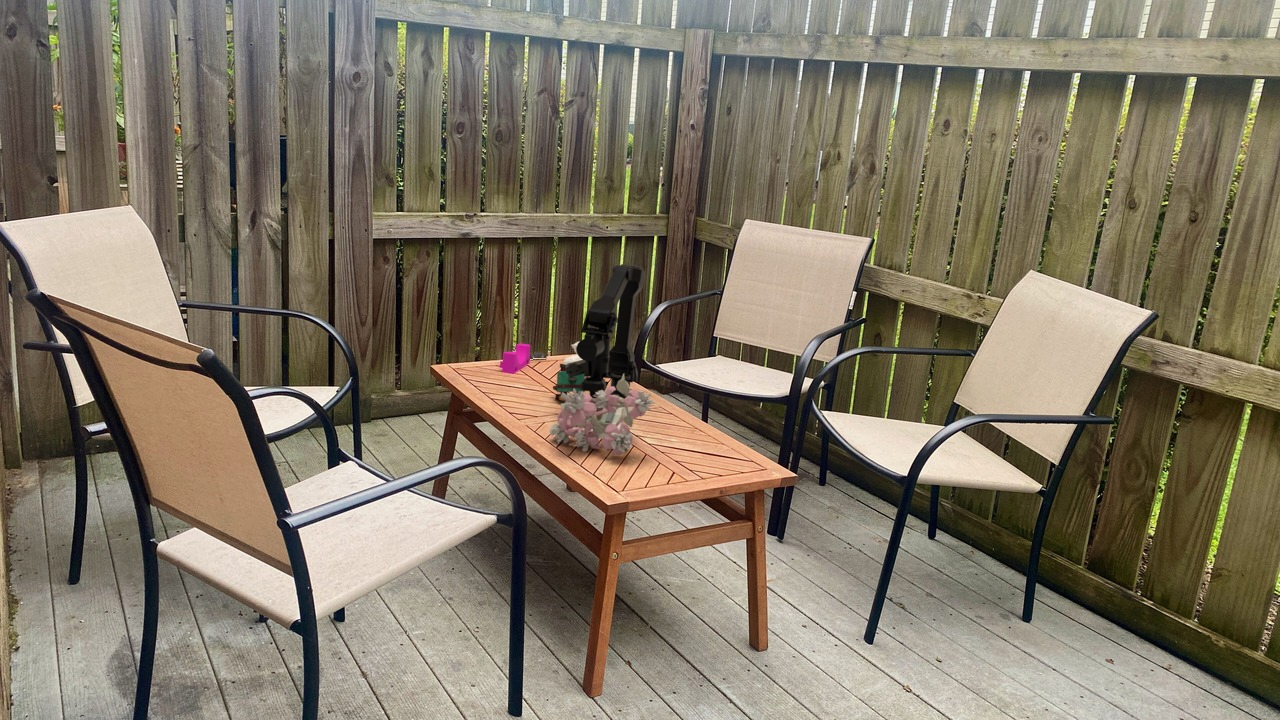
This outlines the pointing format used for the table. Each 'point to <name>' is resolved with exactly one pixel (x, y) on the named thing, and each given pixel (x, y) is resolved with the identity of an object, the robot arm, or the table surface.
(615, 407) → the flower
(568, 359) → the white tied sack
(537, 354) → the car cutout
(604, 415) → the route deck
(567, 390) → the binoculars
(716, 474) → the table surface
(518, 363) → the toy block
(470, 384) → the table surface
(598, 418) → the walnut block
